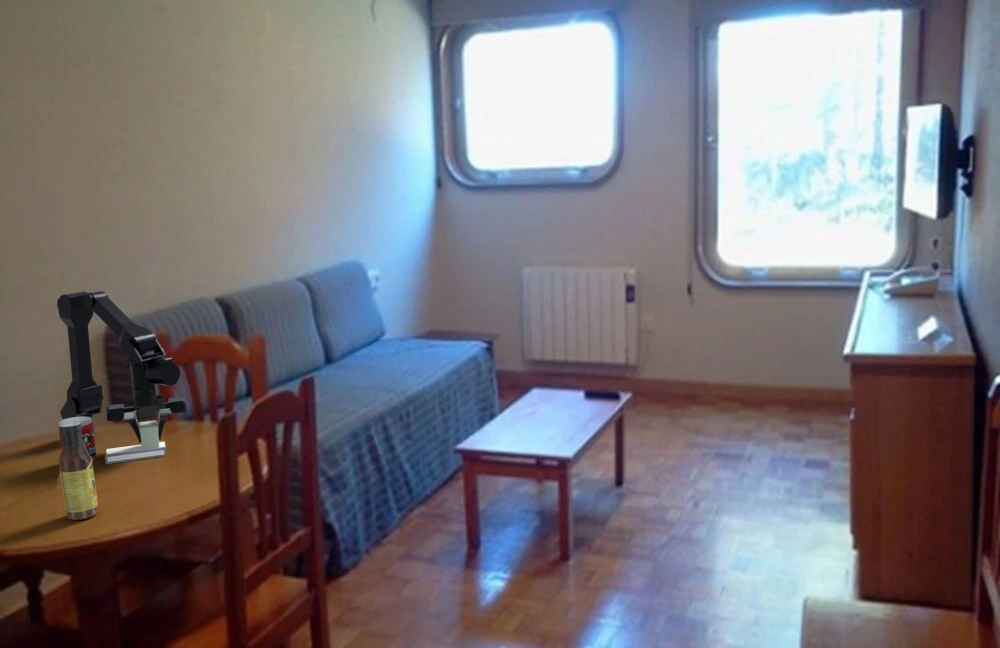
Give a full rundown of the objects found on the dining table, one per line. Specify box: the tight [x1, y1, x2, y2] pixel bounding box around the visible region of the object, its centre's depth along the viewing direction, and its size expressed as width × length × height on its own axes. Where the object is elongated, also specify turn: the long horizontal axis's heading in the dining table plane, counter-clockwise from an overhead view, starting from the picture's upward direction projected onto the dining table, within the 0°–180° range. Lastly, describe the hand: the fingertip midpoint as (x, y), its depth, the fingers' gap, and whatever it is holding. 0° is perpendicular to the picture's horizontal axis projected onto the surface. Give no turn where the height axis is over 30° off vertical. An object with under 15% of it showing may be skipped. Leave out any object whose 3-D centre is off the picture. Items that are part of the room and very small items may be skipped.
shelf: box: [104, 441, 168, 465], centre depth 234 cm, size 13×14×3 cm
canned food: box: [57, 417, 97, 462], centre depth 229 cm, size 8×8×11 cm
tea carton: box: [139, 420, 160, 450], centre depth 237 cm, size 4×6×6 cm
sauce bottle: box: [58, 422, 99, 521], centre depth 193 cm, size 7×6×20 cm
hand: (150, 441), depth 238 cm, fingers closed on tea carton, 4 cm apart
